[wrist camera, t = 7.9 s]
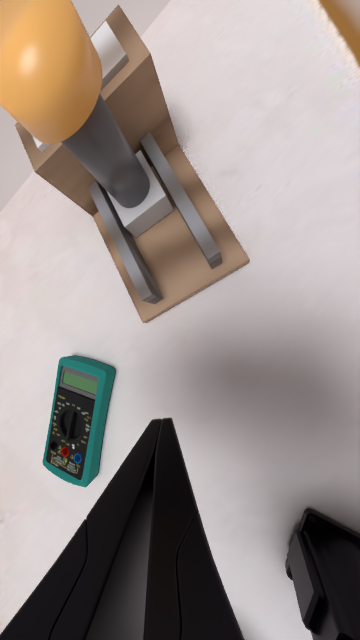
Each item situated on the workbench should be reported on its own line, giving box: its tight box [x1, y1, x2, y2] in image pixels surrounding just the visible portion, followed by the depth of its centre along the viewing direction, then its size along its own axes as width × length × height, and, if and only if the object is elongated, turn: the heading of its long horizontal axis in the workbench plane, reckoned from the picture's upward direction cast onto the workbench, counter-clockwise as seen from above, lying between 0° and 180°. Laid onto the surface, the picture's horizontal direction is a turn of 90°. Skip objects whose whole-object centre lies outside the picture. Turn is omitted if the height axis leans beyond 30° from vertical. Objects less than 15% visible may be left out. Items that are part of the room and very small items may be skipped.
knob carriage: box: [0, 0, 173, 238], centre depth 15 cm, size 6×6×13 cm
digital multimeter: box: [43, 356, 115, 487], centre depth 23 cm, size 7×15×3 cm, turn 170°
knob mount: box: [15, 5, 249, 323], centre depth 18 cm, size 21×13×8 cm, turn 28°
